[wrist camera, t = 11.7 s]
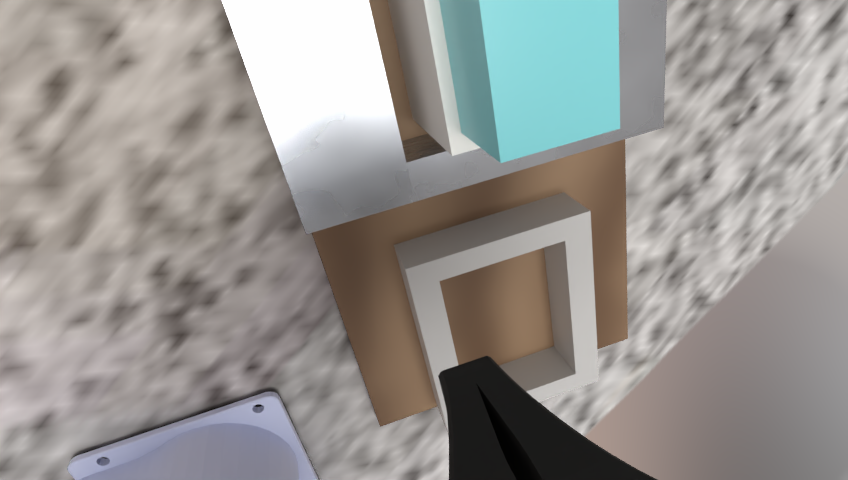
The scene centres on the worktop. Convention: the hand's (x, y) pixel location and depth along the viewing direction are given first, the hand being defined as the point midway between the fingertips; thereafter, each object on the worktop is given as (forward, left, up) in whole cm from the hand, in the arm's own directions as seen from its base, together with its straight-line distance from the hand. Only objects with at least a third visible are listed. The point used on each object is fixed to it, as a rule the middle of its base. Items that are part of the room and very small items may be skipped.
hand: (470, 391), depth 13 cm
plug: (+4, +7, -10) cm, 13 cm away
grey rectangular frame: (+4, -5, -10) cm, 12 cm away
